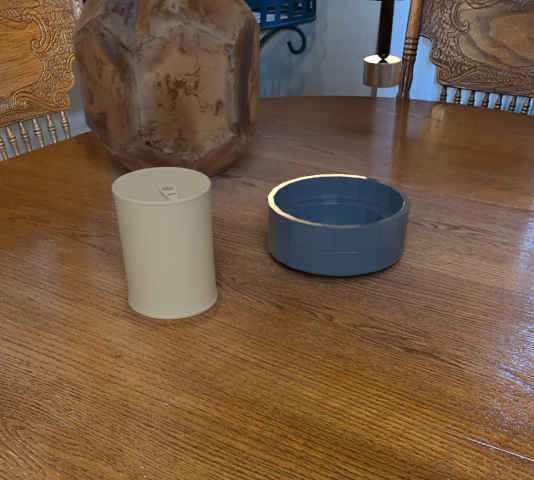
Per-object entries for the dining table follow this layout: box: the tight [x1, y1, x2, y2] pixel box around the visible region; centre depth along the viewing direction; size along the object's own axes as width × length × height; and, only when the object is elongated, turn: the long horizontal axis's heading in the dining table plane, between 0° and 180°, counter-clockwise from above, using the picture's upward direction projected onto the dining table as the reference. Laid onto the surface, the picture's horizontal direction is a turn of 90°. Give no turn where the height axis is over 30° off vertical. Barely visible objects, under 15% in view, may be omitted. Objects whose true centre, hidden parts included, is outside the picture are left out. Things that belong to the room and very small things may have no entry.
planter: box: [71, 0, 261, 178], centre depth 93 cm, size 22×24×24 cm
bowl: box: [266, 173, 411, 277], centre depth 78 cm, size 15×15×6 cm
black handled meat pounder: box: [362, 0, 403, 89], centre depth 93 cm, size 5×5×18 cm
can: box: [111, 167, 219, 320], centre depth 68 cm, size 9×9×12 cm
